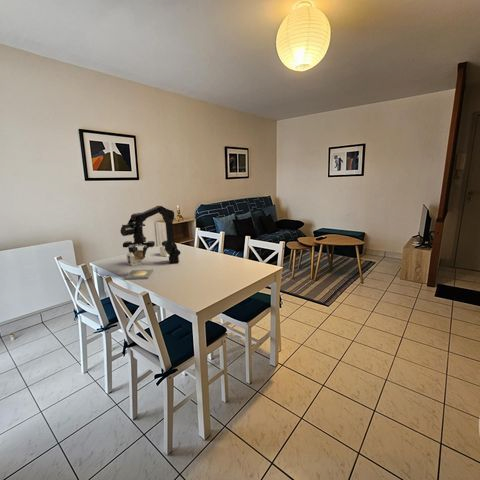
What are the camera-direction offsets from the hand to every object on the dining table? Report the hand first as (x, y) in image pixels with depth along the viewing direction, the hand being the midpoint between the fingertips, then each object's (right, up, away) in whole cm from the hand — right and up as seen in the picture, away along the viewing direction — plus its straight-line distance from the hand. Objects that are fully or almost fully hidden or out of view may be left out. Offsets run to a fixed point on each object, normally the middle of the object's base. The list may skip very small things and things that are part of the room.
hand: (140, 257), depth 169 cm
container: (-13, -7, +24) cm, 28 cm away
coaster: (0, -12, 0) cm, 12 cm away
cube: (0, -1, 0) cm, 1 cm away
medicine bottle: (+5, -2, +45) cm, 45 cm away
